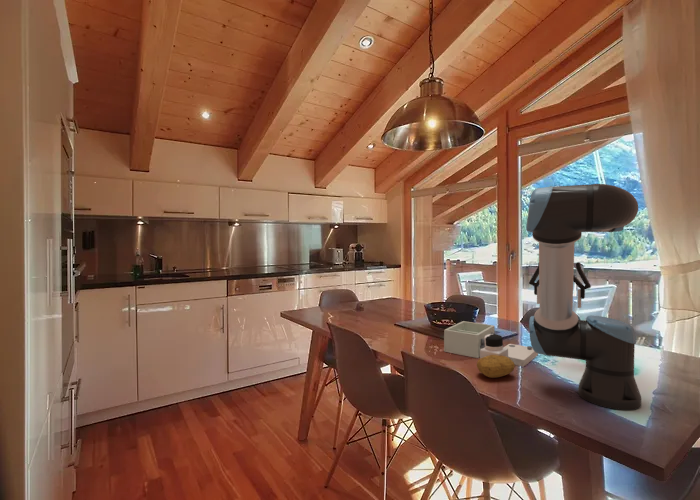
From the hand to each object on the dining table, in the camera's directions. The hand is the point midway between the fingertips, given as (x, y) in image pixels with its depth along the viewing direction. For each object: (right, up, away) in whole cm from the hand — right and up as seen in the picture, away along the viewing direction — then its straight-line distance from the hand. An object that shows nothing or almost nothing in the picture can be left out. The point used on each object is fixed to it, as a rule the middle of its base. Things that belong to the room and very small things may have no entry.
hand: (558, 305), depth 142 cm
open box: (-26, -21, +16) cm, 37 cm away
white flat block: (-13, -22, +6) cm, 26 cm away
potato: (-29, -22, -14) cm, 39 cm away
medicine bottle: (-27, -22, -7) cm, 35 cm away
